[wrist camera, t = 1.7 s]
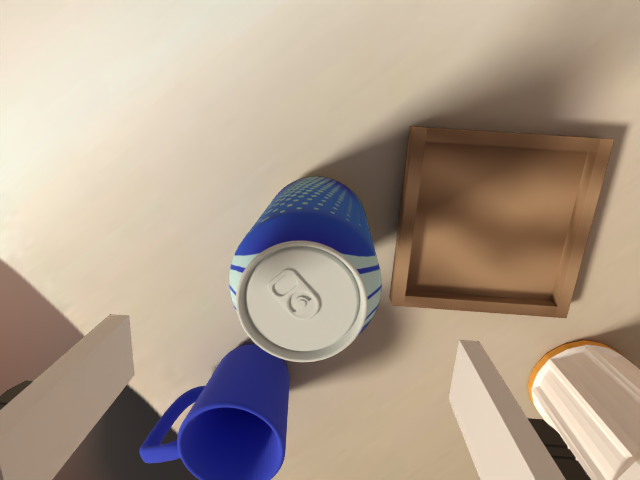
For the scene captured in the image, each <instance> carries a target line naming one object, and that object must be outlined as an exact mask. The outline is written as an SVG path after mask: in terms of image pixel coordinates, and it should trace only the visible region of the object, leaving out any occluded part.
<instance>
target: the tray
mask: <svg viewBox="0 0 640 480" xmlns="http://www.w3.org/2000/svg"><path fill="white" fill-rule="evenodd" d="M613 142H614V139H604V138H591V137H574V136H558V135H542V134H526V133H510V132H493V131H477V130H461V129H445V128H429V127H412V126H410V132H409V140H408V148H407V157H406V165H405V173H404V182H403V190H402V198H401V207H400V215H399V223H398V232H397V240H396V248H395V256H394V265H393V273H392V281H391V290H390V300H391V303H392V306H406V307H419V308H433V309H447V310H461V311H475V312H489V313H503V314H517V315H530V316H544V317H558V318H567V314H568V311H569V307H570V303H571V299H572V296H573V292H574V288H575V284H576V281H577V277H578V273H579V269H580V266H581V262H582V258H583V255H584V251H585V247H586V243H587V240H588V236H589V232H590V228H591V225H592V221H593V217H594V213H595V210H596V206H597V202H598V199H599V195H600V191H601V187H602V184H603V180H604V176H605V172H606V169H607V165H608V161H609V157H610V154H611V150H612V146H613Z"/></svg>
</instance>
